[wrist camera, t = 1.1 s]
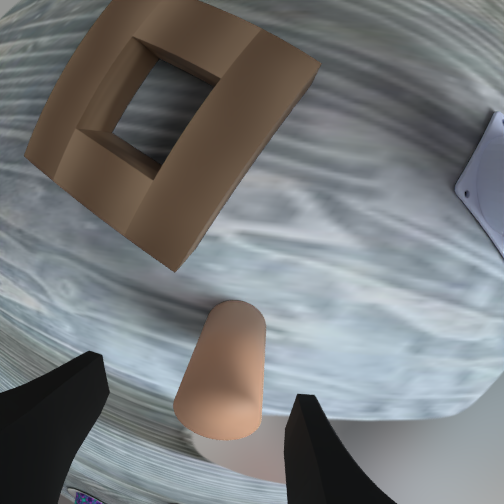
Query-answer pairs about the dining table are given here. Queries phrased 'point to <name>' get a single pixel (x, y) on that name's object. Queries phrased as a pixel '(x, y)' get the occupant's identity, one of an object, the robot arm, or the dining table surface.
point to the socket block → (194, 136)
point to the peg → (225, 374)
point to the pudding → (83, 498)
